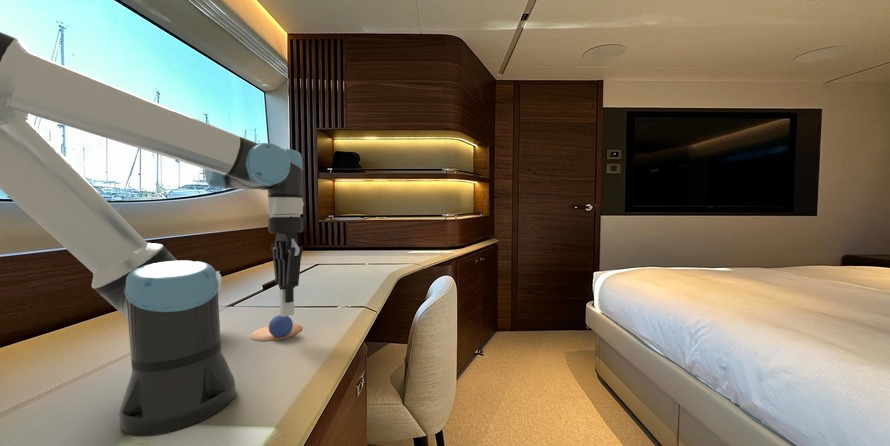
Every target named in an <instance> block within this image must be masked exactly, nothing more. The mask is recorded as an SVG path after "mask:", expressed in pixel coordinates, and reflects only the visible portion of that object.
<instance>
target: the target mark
mask: <svg viewBox="0 0 890 446" xmlns="http://www.w3.org/2000/svg"><path fill="white" fill-rule="evenodd" d="M301 331H302V325H300V324H297V323H293V328H292V330H291V332H290V333H289V334H288V335H287V336H285V337H281V338H278V337H274V336H273V335H271V333H270V332H269V325H268V326H264V327H261V328H259V329H256V330H254V331H253V332H251V334H250V339H251V340H253V341H256V342H257V341H258V342H270V341H279V340H283V339H287V338H290V337H292V336H295V335H297V334H298V333H300V332H301Z"/></svg>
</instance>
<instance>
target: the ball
mask: <svg viewBox="0 0 890 446" xmlns="http://www.w3.org/2000/svg"><path fill="white" fill-rule="evenodd" d="M293 324H294V323H293V320H292V318H291V317H290V316H285V317H282V316H280V314H278V315H275V316H274V317H272V319H271V320H270V321H269V322H268V326H269V332H270V333H271V335H273V336H274V337H278V338H281V337H285V336H287V335H288V334H289V333H290V332H291V330H292V328H293Z"/></svg>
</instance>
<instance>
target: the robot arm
mask: <svg viewBox="0 0 890 446" xmlns="http://www.w3.org/2000/svg"><path fill="white" fill-rule="evenodd" d="M30 116H34V117H38V118H40V119H45V120H47V121H51V122H54V123H57V124H61V125H64V126H67V127H70V128H73V129H76V130H79V131H82V132H86V133H89V134H92V135H96V136H100V137H102V138H105V139H108V140H111V141H115V142H118V143H121V144H125V145H128V146H131V147H134V148H137V149H141V150H144V151H147V152H151V153H153V154H157V155H160V156H162V157H167V158H168V159H173V160H175V161H179V162H183V163H185V164H189V165H191V166H195V167H198V168H201V169H204V177H205V181H206V183H207V184H208V185H209V187H211V188H215V189H217V188H219V189H225V190H228V189H237V190H261V191H266V190H267V214H268V215H270V216H269V217H268V220H267V222H268V224H267V226H268V227H267V231H268V232H269V233H270V234H275V240H274V243H271V245H270V248H271V252H272V260H273V261H272V262H273V269H274V278H275V280H274V281H275V284H276V285H278V288H279V315H280V316H282V317H285V316H288V317H290V316H294V315H295V288H296V287H298V286H299V282H300V273H301V272H300V271H301V261H302V254H303V252H304V249H303V247H304V246H299V243H298V242H299V241H298V236H297V234H298V233H302V232H304V218H303V216H301V215H302V214H304V213H303V211H304V210H303V209H304V208H303V207H304V206H305V202H304V201H303V195H304V194H303V193H304V191H303V173H304V169H303V168H304V167H303V160H302V159H303V157H302V156H303V155H302V154H301V153H300V152H299V151H298V150H295V149H290V148H282V147H280V146H279V145H277V144H275V143H270V142H269V143H266V142H260V143H257V142H255V141H252V140H250V139H248V138H244V137H242V136H240V135H239V136H238V135H237V134H234V133H231V132H228V131H226V130H224V129H221V128H219V127H216V126H215V125H212V124H210V123H206V122H204V121H201V120H199V119H196V118H194V117H191V116H189V115H187V114H184V113H182V112H179V111H177V110H173V109H171V108H169V107H166V106H164V105H162V104H159V103H157V102H154V101H152V100H149V99H147V98H144V97H141V96H140V95H136V94H135V93H132V92H129V91H126V90H124V89H121V88H119V87H117V86H113V85H112V84H109V83H106V82H105V81H101V80H99V79H97V78H94V77H91V76H89V75H86V74H84V73H81V72H79V71H77V70H74V69H72V68H69V67H67V66H64V65H61V64H59V63H57V62H54V61H52V60H49V59H46V58H44V57H41V56H39V55H37V54H34V53H32V52H31V51H30V50H29V49H28V48H27V46H26V45H25V43H23V41H22V40H21V39H18V38H16V37H13V36H11V35H9V34H7V33H4V32H1V31H0V191H2V192H3V193H4V194H5V195H7V197H8V198H9V199H10V200H12V201H13V202H14V203H15V204H16V205H17V206H18V207H20V209H22V211H24V212H25V213H26V214H27V215H28V216H29V217H31V218H32V220H34V221H35V222H36V223H37V224H38V225H39V226H40V227H42V228H43V229H44V230H45V231H46V232H47V233H48V234H49V235H51V236H52V238H54V239H55V240H56V241H57V242H58V243H59V244H61V246H62V247H63V248H65V250H67V251H68V252H69V253H70V254H71V255H73V257H75V258H76V259H77V260H78V261H79V262H80V263H81V264H82V265H84V266H85V267H86V269H88V270H89V271H90V272H91V273H92V275H93V276H92V281H91V288H92V289H93V290H95V292H96V293H98V294H99V295H100V296H101V297H102V298H103V299H105V300H106V301H107V302H108V303H109V304H110V305H111V306H112V307H113V308H115V309H116V310H117V311H118V312H119V313H120V314H121V315H122V316H123V317H124V319H125V320H126V322H127V325H128V334H129V336H128V337H129V345H130V346H129V347H130V350H129V351H130V359H131V375H130V377H129V379H128V380H129V381H128V384H127V387H126V390H125V393H124V396H123V399H122V402H121V404H120V405H121V406H120V408H119V425H120V429H121V431H123V432H124V433H126V434H129V435H132V436H133V435H134V436H152V435H158V434H159V435H160V434H165V433H169V432H173V431H177V430H180V429H181V430H182V429H185V428H187V427H189V426H193V425H195V424H197V423H199V422H201V421H203V420H206V419H208V418H210V417H212V416H214V415H215V414H217V413H219V412H220V411H221V410H223V409H224V408H225V407H227V406H228V405H229V404H230V403H231V402H232V400H234V398H235V396H236V380H235V377H234V375H233V372H232V371H231V368H230V367H229V365H228V362H227V360H226V358H225V356H224V354H223V353H222V351H223V350H222V345H221V326H220V325H221V324H220V321H221V320H220V307H219V305H220V304H219V298H218V288H219V284H218V280H217V277H216V271H217V270H215V268H214V267H213V266H212V265H211V264H210V263H209V264H208V263H207V262H203V261H199V260H198V261H193V260H178V259H176V257H174V256H173V254H172V253H171V252H170V251H169V250H168V249H167V248H166V247H165V246H164V245H163V244H161V243H151V242H148V241H146V240H145V239H144V238H143V237H142V236H141V235H140V234H139V233H138V232H137V231H136V230H135V228H133V226H132V225H131V224H129V222H127V220H126V219H124V217H123V216H122V215H121V214H120V213H119V212H118V211H117V210H116V209H115V208H114V207H113V206H112V205H111V204H110V203H109V202H108V201H107V200H106V199H105V198H104V197H103V196H102V194H101V193H100V192H99V191H98V190H96V188H95V187H94V186H93V185H92V184H91V183H90V182H89V181H88V179H86V178H85V177H84V176H83V175H82V174H81V173H80V172H79V171H78V169H77V168H76V167H75V166H73V164H72V163H71V162H70V161H69V160H68V159H67V158H66V157H65V156H64V155H63V154H62V153H61V152H60V151H59V150H58V149H57V147H55V145H54V144H53V143H52V142H50V141H49V140H48V139H47V138H46V136H44V134H43V133H41V131H40V130H39V129H38V128H36V126H35V125H34V124H33V123H32V122H31V120H30Z"/></svg>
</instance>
